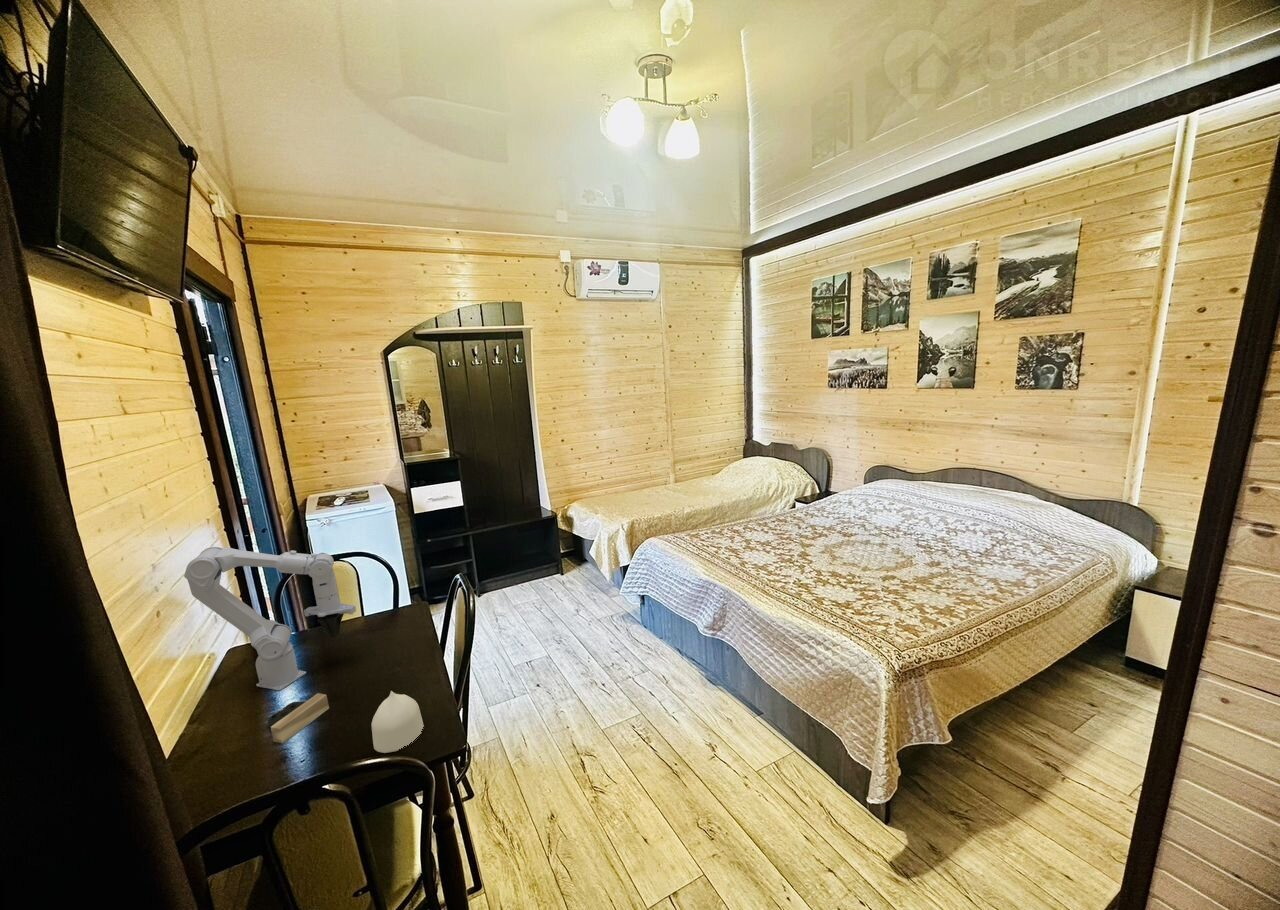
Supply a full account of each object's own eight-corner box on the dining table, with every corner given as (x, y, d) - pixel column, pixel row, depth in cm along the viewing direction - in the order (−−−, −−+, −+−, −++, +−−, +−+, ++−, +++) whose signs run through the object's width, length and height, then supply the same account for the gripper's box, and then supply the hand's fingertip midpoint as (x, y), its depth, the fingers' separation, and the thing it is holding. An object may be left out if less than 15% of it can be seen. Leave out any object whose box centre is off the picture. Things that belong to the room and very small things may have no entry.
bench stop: (273, 741, 110) (270, 727, 109) (320, 706, 121) (317, 693, 121) (282, 743, 109) (279, 729, 108) (329, 708, 120) (326, 694, 120)
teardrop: (376, 726, 113) (368, 683, 111) (425, 711, 117) (418, 670, 115) (369, 760, 103) (360, 713, 101) (422, 742, 107) (415, 697, 105)
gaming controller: (281, 734, 111) (265, 716, 112) (273, 744, 113) (257, 727, 114) (318, 706, 120) (303, 689, 121) (310, 716, 122) (296, 700, 123)
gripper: (293, 601, 132) (302, 644, 135) (341, 599, 132) (349, 642, 134) (311, 590, 139) (319, 630, 141) (357, 588, 138) (364, 629, 141)
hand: (335, 635), depth 138 cm, fingers closed
